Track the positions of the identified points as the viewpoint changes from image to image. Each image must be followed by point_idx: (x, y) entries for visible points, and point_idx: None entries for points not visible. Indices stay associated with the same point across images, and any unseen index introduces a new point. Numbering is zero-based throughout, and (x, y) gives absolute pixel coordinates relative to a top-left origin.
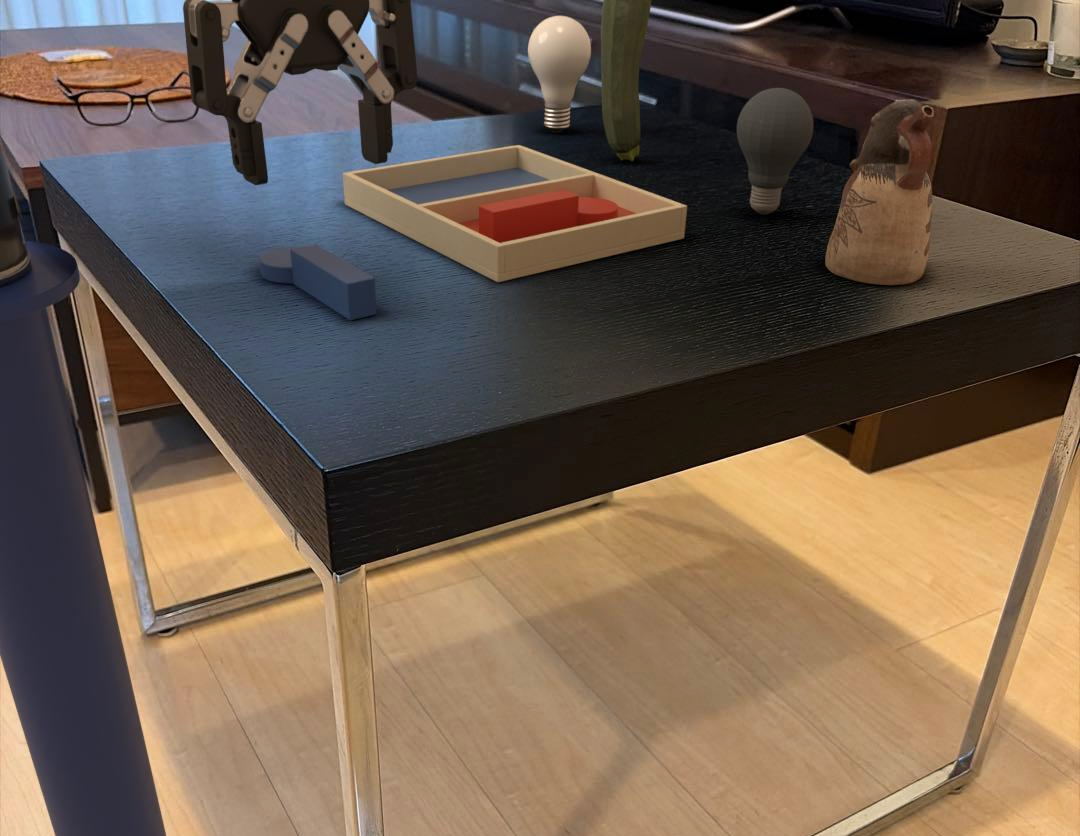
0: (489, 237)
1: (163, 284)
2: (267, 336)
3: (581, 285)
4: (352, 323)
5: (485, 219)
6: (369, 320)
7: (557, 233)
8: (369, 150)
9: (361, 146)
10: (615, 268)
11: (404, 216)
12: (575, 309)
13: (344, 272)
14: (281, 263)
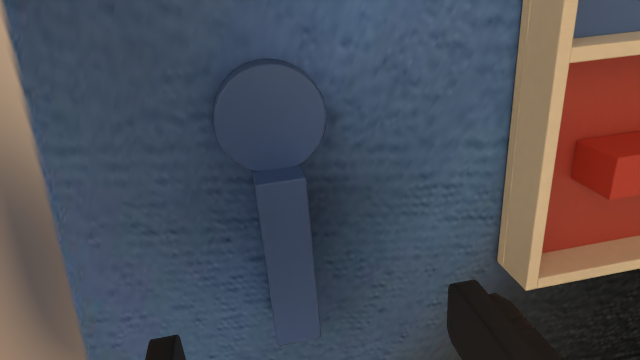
0: (579, 171)
1: (29, 64)
2: (157, 319)
3: (566, 298)
4: None
5: (599, 172)
6: None
7: (622, 271)
8: (459, 320)
9: (460, 294)
10: None
11: (543, 17)
12: None
13: (292, 308)
14: (243, 149)
